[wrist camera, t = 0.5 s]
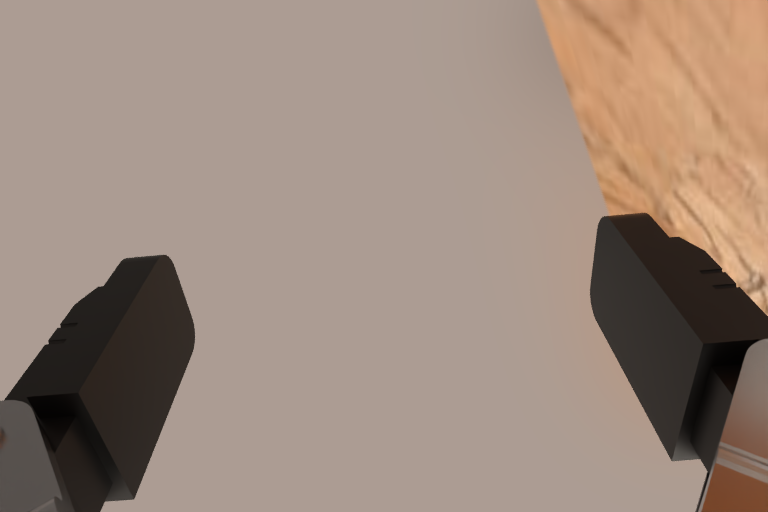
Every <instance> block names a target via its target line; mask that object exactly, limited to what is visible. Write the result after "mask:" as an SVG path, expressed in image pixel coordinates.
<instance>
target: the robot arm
mask: <svg viewBox="0 0 768 512" xmlns="http://www.w3.org/2000/svg"><path fill="white" fill-rule="evenodd" d="M590 298H591V305H592V310H593V313H594V316H595V319H596V321H597V323H598V325H599V327H600V328H601V330H602V332H603V334H604V336H605V338H606V339H607V341H608V343H609V345H610V347H611V349H612V351H613V352H614V354H615V356H616V358H617V360H618V362H619V364H620V366H621V368H622V369H623V371H624V373H625V375H626V377H627V378H628V381H629V382H630V384H631V386H632V388H633V390H634V392H635V394H636V395H637V397H638V399H639V401H640V403H641V405H642V407H643V408H644V410H645V412H646V414H647V416H648V418H649V420H650V421H651V423H652V425H653V427H654V428H655V431H656V433H657V435H658V436H659V438H660V440H661V442H662V444H663V446H664V447H665V449H666V451H667V453H668V455H669V457H670V459H671V461H679V460H693V459H701V461H702V463H703V464H704V466H705V468H706V469H707V471H708V472H707V475H706V478H705V481H704V485H703V488H702V491H701V494H700V498H699V501H698V505H697V508H696V511H695V512H768V316H767V315H766V314H765V313H764V312H763V311H762V310H761V309H760V308H759V307H758V306H757V305H756V304H755V303H754V302H753V301H752V300H751V298H750V297H749V296H748V295H747V294H746V293H745V292H744V291H743V290H742V289H741V288H740V287H738V288H737V287H736V283H735V282H734V281H733V280H732V279H731V278H730V277H729V276H728V274H727V273H726V272H722V268H721V267H720V266H719V265H718V264H717V263H716V262H715V261H714V260H713V259H712V258H711V257H710V256H709V255H708V254H707V253H706V251H704V250H702V249H700V248H699V247H697V246H695V245H693V244H691V243H689V242H687V241H686V240H684V239H682V238H680V237H671V238H669V236H668V235H667V234H666V233H665V232H664V231H663V230H662V229H661V227H660V226H659V225H658V224H657V223H656V222H655V221H654V220H653V218H652V217H651V216H650V215H649V214H647V213H637V214H626V215H615V216H604V217H602V218H601V220H600V222H599V224H598V229H597V236H596V244H595V253H594V261H593V269H592V277H591V287H590ZM60 325H61V328H57V330H56V331H55V332H54V333H53V335H52V336H51V338H50V339H49V344H48V345H45V346H44V347H43V348H42V350H41V351H40V352H39V354H38V355H37V357H36V358H35V359H34V361H33V362H32V363H31V365H30V366H29V367H28V369H27V370H26V371H25V373H24V374H23V375H22V377H21V378H20V380H19V381H18V382H17V384H16V385H15V386H14V388H13V389H12V390H11V392H10V393H9V394H8V396H7V397H6V398H5V400H4V401H0V512H100V511H101V509H102V506H103V504H104V502H105V501H118V500H132V499H134V498H135V496H136V493H137V491H138V488H139V485H140V483H141V481H142V478H143V476H144V473H145V471H146V468H147V466H148V463H149V461H150V458H151V456H152V453H153V451H154V448H155V446H156V443H157V441H158V438H159V435H160V433H161V430H162V428H163V425H164V423H165V420H166V418H167V415H168V413H169V410H170V408H171V405H172V403H173V400H174V398H175V395H176V393H177V390H178V388H179V385H180V383H181V380H182V378H183V375H184V373H185V370H186V368H187V365H188V363H189V360H190V357H191V355H192V352H193V349H194V343H195V329H194V323H193V319H192V316H191V313H190V310H189V307H188V305H187V302H186V299H185V296H184V293H183V290H182V287H181V284H180V281H179V278H178V275H177V273H176V270H175V267H174V264H173V262H172V260H171V259H170V258H169V257H168V256H167V255H157V256H146V257H134V258H126V259H123V260H122V261H121V262H120V264H119V265H118V266H117V268H116V269H115V271H114V272H113V274H112V275H111V276H110V278H109V279H108V281H107V282H106V284H105V285H104V286H102V287H98V288H96V289H95V290H93V291H92V292H91V293H89V294H88V295H87V296H85V297H84V298H83V299H81V300H80V301H79V302H78V303H76V304H75V305H74V306H73V308H72V309H71V310H70V312H69V313H68V315H67V316H66V317H65V319H64V320H63V321H62V323H61V324H60Z"/></svg>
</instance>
